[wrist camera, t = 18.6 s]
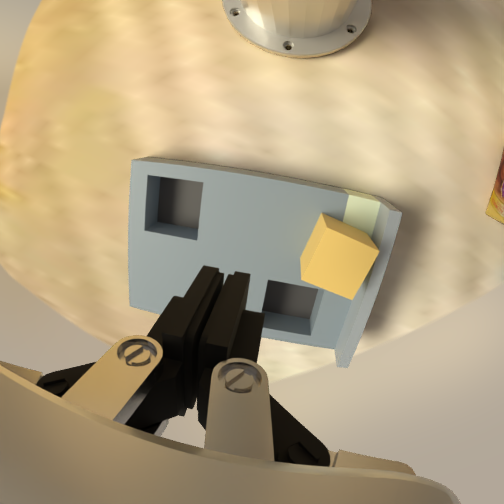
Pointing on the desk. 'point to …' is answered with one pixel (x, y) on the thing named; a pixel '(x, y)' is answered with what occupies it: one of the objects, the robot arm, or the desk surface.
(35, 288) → the desk surface
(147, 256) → the board
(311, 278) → the block
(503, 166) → the candy box
